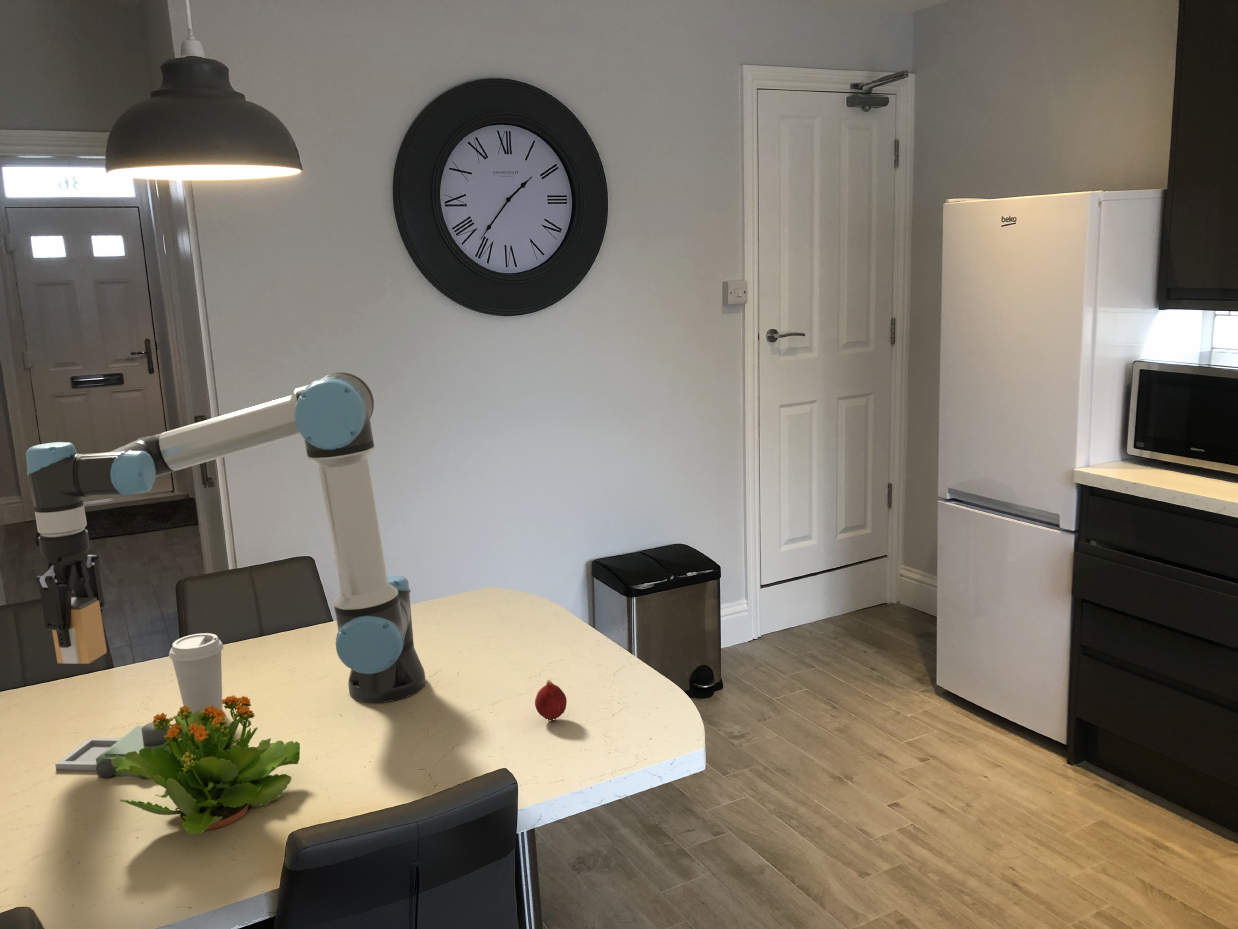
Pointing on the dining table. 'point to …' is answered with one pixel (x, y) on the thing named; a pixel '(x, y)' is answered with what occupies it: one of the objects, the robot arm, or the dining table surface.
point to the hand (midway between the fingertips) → (82, 656)
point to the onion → (550, 701)
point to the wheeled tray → (112, 751)
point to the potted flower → (211, 766)
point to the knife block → (85, 630)
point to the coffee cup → (198, 670)
